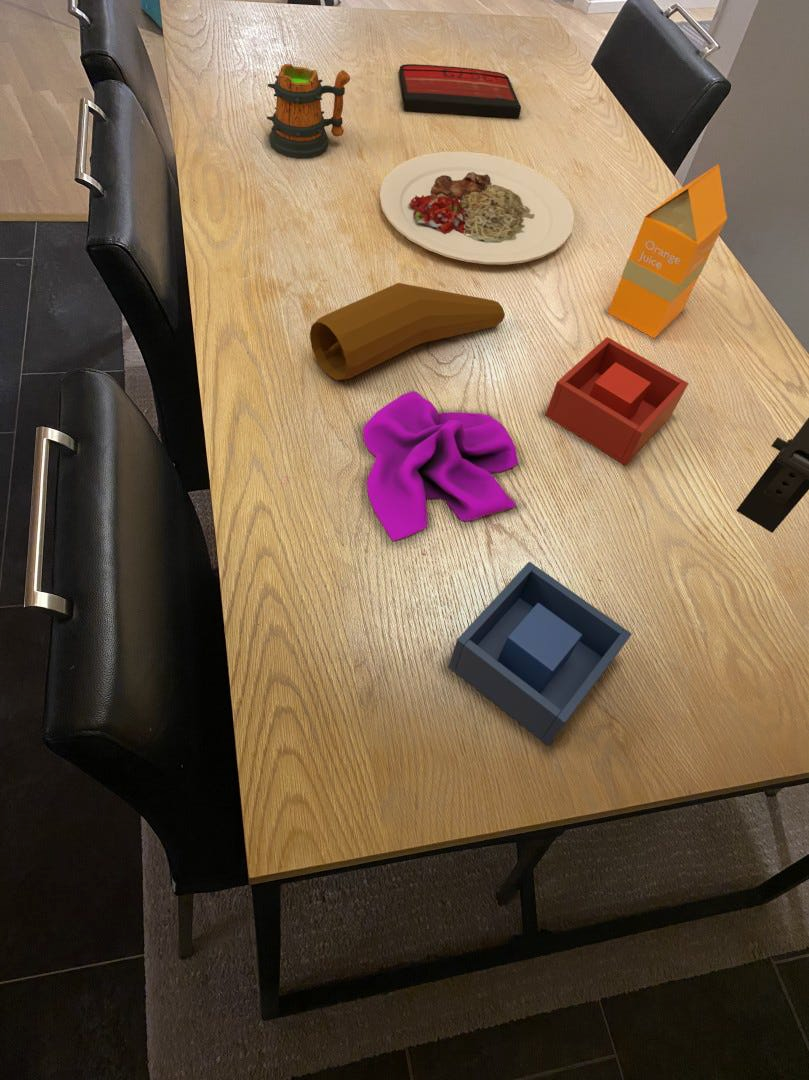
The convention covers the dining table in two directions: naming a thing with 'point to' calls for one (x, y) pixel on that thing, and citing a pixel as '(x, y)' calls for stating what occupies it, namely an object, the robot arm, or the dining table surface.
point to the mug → (304, 112)
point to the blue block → (538, 647)
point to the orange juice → (670, 254)
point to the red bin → (602, 422)
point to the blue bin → (574, 677)
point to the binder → (457, 91)
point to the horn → (395, 326)
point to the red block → (620, 390)
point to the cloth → (434, 463)
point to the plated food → (476, 207)
